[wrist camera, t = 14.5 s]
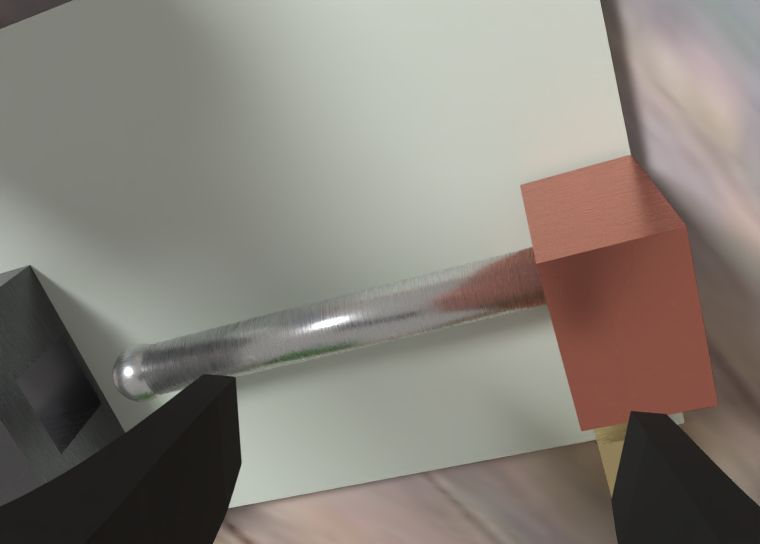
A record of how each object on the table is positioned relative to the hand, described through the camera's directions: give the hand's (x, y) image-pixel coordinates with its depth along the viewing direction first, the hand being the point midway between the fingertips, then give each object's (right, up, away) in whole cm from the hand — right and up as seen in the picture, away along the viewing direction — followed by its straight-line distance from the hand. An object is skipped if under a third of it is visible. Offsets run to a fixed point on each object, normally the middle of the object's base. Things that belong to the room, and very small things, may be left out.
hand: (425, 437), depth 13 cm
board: (-6, +3, +10) cm, 12 cm away
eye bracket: (-12, 0, +12) cm, 17 cm away
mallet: (-1, +2, +8) cm, 9 cm away
